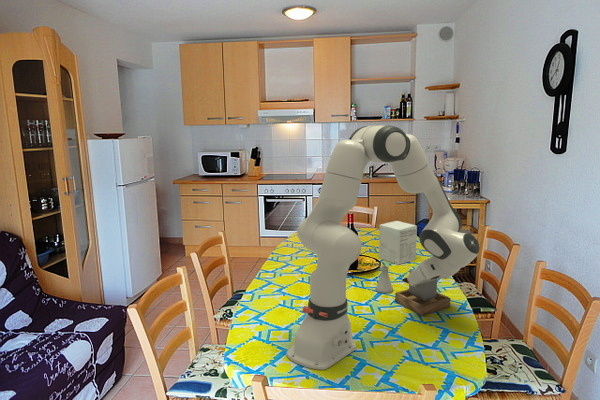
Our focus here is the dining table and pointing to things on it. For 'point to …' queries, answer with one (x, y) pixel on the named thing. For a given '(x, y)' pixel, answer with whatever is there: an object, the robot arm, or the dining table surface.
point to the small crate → (424, 290)
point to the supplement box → (397, 242)
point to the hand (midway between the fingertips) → (421, 282)
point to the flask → (384, 281)
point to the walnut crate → (422, 302)
